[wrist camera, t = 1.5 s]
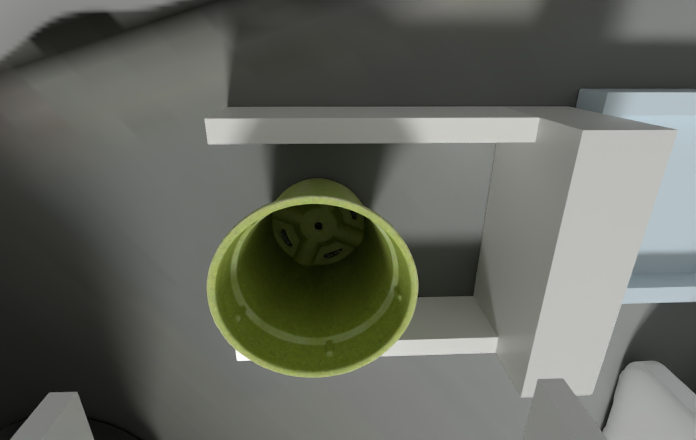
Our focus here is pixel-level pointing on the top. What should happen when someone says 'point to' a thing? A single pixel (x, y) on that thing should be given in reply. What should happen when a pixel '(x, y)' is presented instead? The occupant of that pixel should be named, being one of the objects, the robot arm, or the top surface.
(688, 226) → the tray
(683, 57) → the top surface
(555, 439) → the robot arm
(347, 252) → the plant pot
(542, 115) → the bay
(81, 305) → the top surface
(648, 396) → the cable organizer
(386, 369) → the top surface
